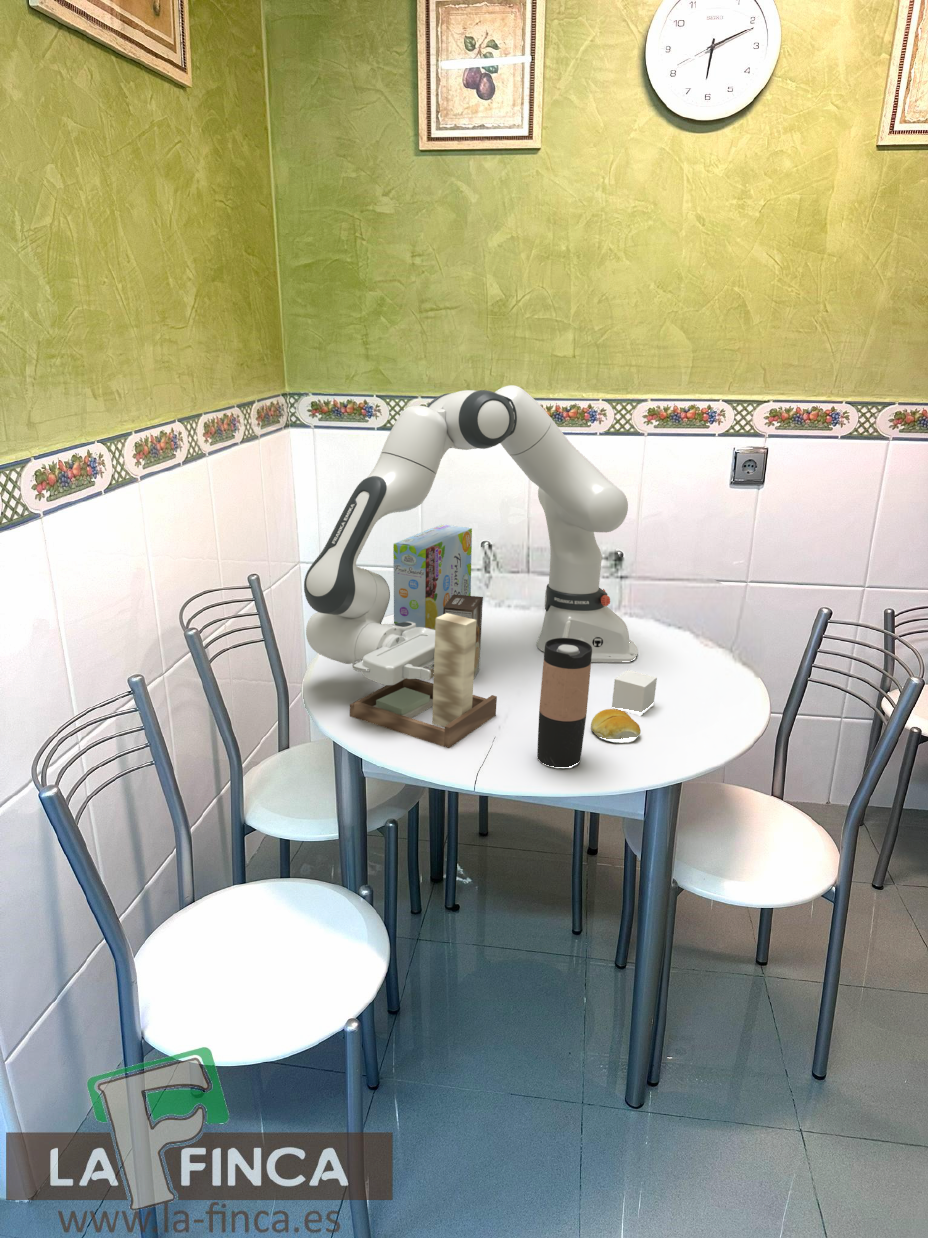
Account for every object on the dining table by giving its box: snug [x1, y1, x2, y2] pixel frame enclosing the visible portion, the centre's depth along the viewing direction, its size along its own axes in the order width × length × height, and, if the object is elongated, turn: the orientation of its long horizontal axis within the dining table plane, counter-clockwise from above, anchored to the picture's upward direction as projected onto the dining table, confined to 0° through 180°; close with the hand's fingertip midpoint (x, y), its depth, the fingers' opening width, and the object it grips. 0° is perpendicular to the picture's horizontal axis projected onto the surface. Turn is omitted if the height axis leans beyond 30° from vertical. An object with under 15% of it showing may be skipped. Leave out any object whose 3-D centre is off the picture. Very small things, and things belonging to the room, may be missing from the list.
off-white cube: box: [611, 669, 658, 712], centre depth 160 cm, size 6×6×6 cm
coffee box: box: [443, 594, 484, 680], centre depth 169 cm, size 9×6×16 cm
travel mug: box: [536, 638, 592, 767], centre depth 137 cm, size 8×8×20 cm
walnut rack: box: [349, 678, 498, 749], centre depth 152 cm, size 21×16×4 cm
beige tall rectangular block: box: [431, 613, 477, 728], centre depth 147 cm, size 6×4×20 cm, turn 59°
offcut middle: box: [374, 699, 433, 719], centre depth 155 cm, size 7×10×1 cm
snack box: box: [392, 523, 473, 630], centre depth 183 cm, size 22×9×26 cm, turn 154°
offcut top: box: [376, 687, 430, 715], centre depth 154 cm, size 6×8×1 cm
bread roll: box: [590, 708, 641, 739], centre depth 150 cm, size 8×9×4 cm
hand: (446, 666), depth 147 cm, fingers open, 8 cm apart
